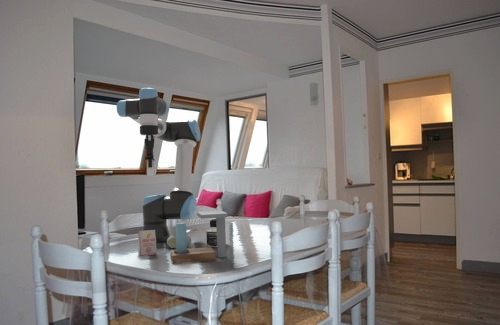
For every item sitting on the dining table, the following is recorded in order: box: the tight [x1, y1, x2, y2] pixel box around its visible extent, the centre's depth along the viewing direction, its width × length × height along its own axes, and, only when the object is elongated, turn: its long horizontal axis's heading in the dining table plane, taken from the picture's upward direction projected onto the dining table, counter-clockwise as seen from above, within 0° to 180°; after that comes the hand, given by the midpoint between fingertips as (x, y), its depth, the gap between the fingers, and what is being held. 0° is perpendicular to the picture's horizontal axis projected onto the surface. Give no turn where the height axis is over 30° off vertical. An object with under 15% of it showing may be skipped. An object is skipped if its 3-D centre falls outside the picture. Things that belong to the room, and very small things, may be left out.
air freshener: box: [166, 224, 192, 250], centre depth 179 cm, size 11×8×10 cm
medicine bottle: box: [205, 218, 228, 248], centre depth 181 cm, size 7×7×12 cm
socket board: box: [170, 246, 216, 265], centre depth 153 cm, size 12×16×3 cm
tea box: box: [137, 230, 157, 257], centre depth 165 cm, size 4×7×10 cm, turn 115°
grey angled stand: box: [196, 209, 229, 258], centre depth 155 cm, size 14×10×18 cm
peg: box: [175, 222, 188, 254], centre depth 152 cm, size 4×4×14 cm
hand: (150, 176), depth 165 cm, fingers open, 13 cm apart
